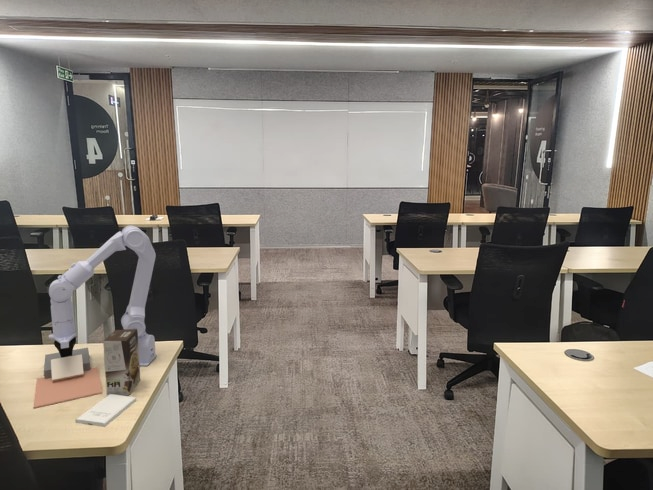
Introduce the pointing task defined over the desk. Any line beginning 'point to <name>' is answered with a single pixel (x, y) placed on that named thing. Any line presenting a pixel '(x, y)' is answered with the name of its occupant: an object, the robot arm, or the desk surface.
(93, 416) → the external hard drive
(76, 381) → the mat
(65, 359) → the tile
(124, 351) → the coffee box
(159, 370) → the desk surface
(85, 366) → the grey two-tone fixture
